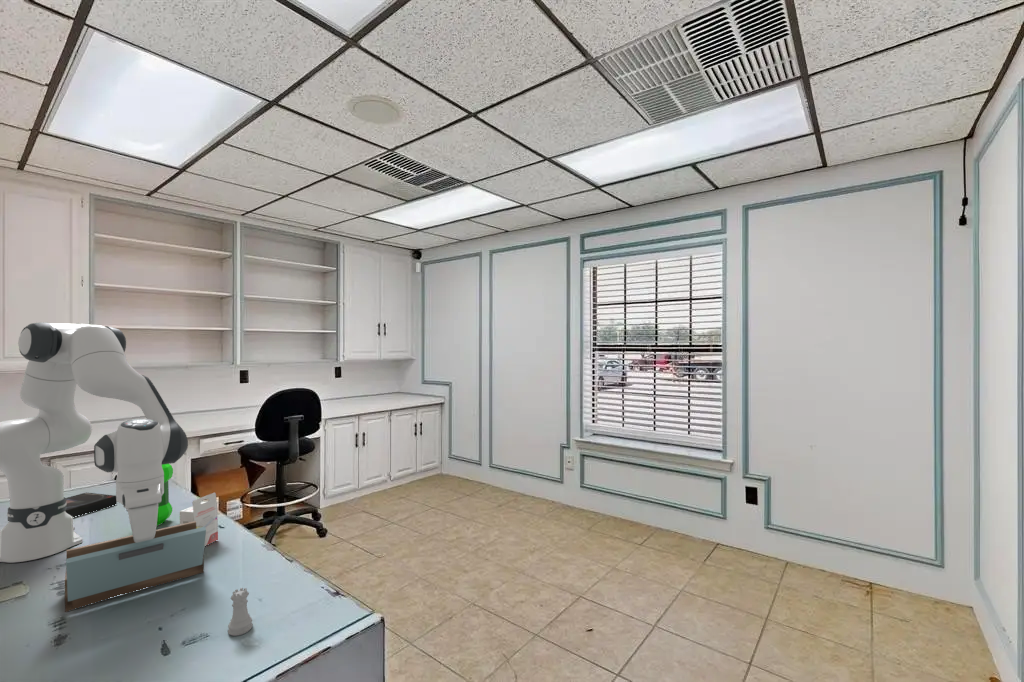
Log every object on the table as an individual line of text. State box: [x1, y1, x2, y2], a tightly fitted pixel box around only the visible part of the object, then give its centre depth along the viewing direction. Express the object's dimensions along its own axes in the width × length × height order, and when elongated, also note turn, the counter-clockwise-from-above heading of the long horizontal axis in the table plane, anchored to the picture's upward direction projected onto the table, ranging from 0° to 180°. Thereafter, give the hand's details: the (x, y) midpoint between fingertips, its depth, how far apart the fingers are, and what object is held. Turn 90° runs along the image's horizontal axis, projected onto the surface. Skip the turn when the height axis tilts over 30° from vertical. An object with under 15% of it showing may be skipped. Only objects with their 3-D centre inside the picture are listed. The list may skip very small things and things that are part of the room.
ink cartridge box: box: [179, 492, 219, 547], centre depth 138 cm, size 9×5×15 cm, turn 168°
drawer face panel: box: [65, 527, 206, 601], centre depth 110 cm, size 2×25×12 cm, turn 132°
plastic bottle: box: [157, 464, 174, 526], centre depth 156 cm, size 10×10×25 cm
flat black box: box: [65, 492, 118, 517], centre depth 170 cm, size 16×17×4 cm
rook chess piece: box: [227, 587, 254, 637], centre depth 96 cm, size 4×4×8 cm
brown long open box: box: [64, 521, 205, 613], centre depth 117 cm, size 12×26×10 cm, turn 132°
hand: (141, 548), depth 110 cm, fingers closed
